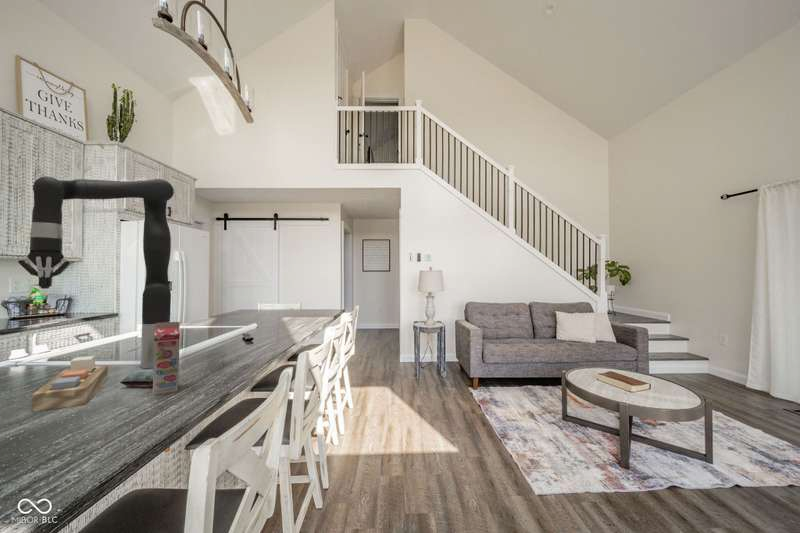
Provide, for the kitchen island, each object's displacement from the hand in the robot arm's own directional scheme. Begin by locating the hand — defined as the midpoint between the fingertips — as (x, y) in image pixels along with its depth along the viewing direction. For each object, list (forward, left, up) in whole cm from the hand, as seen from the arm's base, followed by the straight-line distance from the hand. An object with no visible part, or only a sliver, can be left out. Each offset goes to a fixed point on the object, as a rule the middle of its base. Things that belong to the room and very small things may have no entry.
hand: (45, 288), depth 114 cm
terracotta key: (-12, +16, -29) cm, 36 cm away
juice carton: (-36, +25, -32) cm, 54 cm away
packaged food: (-30, +16, -32) cm, 47 cm away
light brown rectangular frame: (-12, +16, -32) cm, 38 cm away
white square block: (-12, +8, -27) cm, 31 cm away
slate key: (-12, +24, -30) cm, 40 cm away
